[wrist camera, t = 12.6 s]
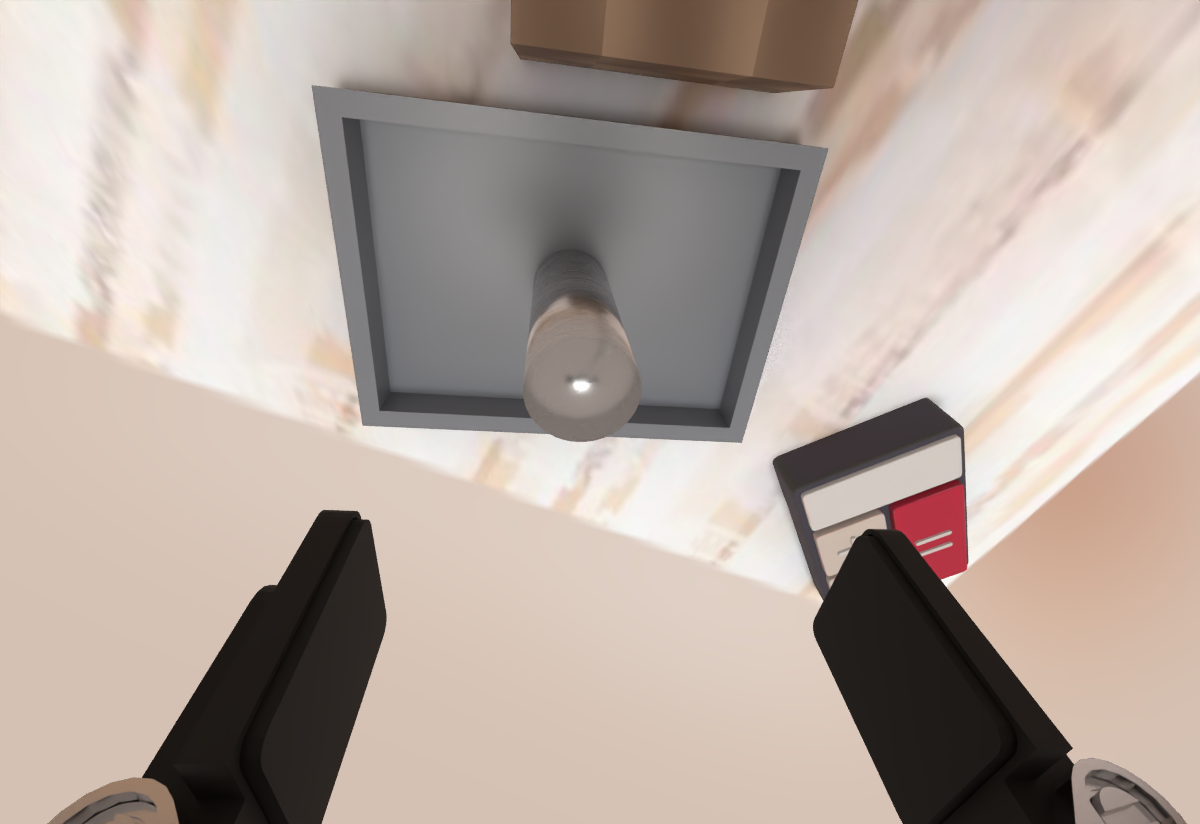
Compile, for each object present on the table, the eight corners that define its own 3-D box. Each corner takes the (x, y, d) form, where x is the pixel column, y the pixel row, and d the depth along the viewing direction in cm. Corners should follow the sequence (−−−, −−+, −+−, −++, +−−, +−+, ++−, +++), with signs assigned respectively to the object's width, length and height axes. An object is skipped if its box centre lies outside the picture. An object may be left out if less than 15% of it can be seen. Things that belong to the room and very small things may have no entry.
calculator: (834, 623, 40) (796, 499, 32) (810, 578, 44) (770, 457, 36) (976, 574, 39) (974, 431, 31) (939, 532, 42) (927, 394, 34)
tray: (800, 144, 26) (828, 148, 23) (727, 417, 33) (741, 442, 31) (338, 88, 23) (311, 85, 20) (378, 399, 31) (362, 425, 28)
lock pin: (611, 252, 27) (650, 341, 16) (603, 324, 29) (632, 444, 18) (535, 245, 26) (524, 332, 16) (531, 319, 28) (520, 439, 18)
